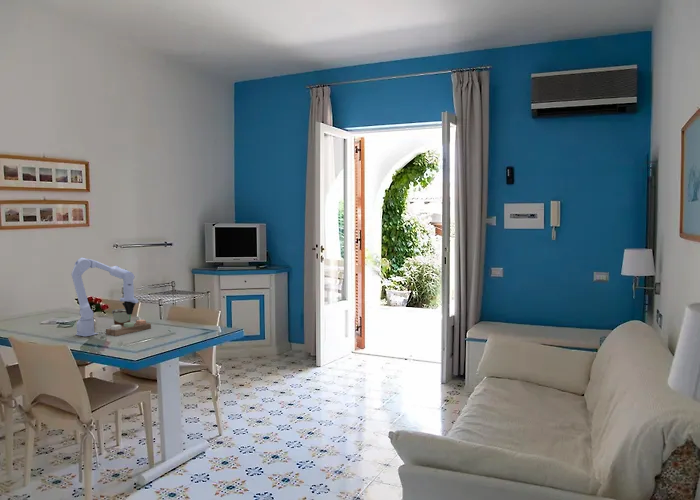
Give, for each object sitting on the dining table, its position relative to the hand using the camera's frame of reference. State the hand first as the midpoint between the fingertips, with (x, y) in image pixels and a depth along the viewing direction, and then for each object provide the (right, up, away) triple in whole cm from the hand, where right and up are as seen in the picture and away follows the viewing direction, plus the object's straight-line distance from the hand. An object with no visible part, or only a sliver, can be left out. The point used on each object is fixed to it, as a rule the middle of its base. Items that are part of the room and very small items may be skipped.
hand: (129, 314), depth 337 cm
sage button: (+1, -8, -4) cm, 9 cm away
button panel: (+1, -10, -4) cm, 10 cm away
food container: (-9, -9, +14) cm, 19 cm away
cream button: (-3, -9, -11) cm, 14 cm away
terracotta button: (+6, -8, +4) cm, 10 cm away
